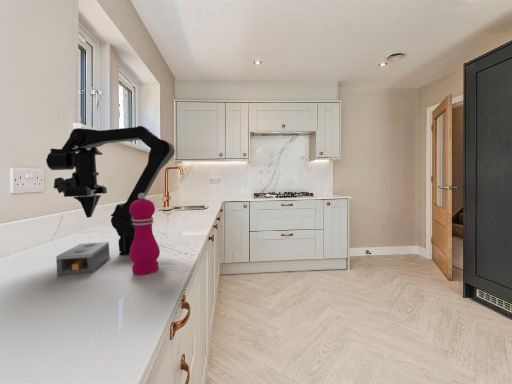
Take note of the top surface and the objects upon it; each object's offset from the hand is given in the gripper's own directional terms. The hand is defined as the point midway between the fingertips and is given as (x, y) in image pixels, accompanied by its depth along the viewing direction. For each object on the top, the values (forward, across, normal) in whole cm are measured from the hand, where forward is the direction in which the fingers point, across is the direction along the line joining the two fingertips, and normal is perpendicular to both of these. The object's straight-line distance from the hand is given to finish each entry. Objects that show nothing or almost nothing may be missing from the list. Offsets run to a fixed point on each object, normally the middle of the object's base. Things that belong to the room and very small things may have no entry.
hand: (89, 217), depth 89 cm
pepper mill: (+12, +24, +21) cm, 34 cm away
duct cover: (+8, +14, +3) cm, 16 cm away
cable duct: (+12, +14, +4) cm, 19 cm away
